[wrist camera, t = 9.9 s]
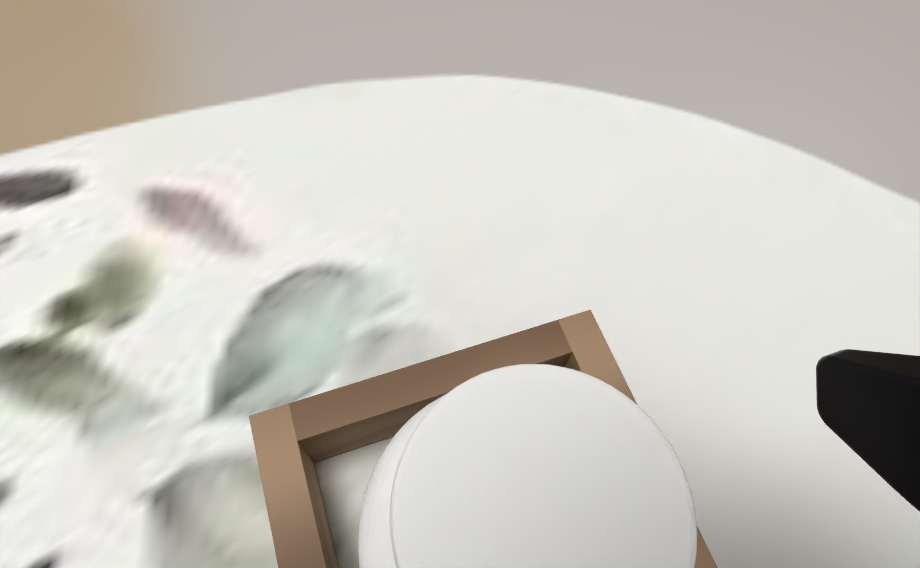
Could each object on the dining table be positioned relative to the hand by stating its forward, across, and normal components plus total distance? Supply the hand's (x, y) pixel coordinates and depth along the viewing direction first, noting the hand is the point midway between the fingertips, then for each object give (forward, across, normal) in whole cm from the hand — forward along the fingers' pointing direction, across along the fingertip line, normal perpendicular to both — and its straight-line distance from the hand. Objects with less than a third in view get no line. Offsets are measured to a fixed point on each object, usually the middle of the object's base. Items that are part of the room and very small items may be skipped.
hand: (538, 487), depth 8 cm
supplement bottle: (+7, 0, +7) cm, 10 cm away
